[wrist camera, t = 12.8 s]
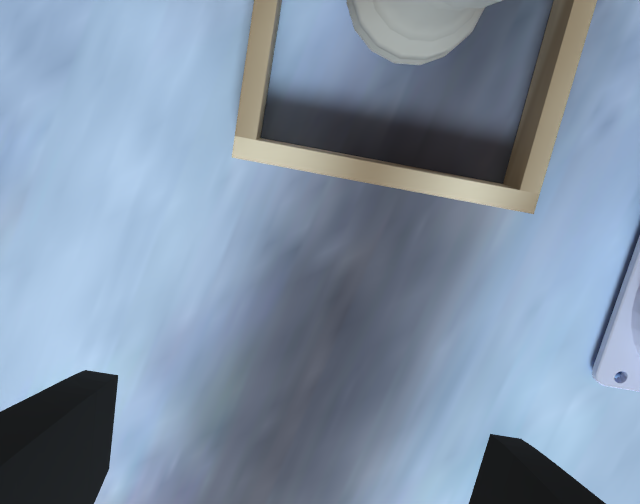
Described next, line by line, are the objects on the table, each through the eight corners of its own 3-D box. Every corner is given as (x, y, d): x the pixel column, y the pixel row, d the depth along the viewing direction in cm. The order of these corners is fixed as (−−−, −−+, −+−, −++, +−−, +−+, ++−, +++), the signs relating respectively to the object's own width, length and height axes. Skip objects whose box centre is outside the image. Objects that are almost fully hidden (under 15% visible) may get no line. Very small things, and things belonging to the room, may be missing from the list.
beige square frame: (606, -109, 17) (635, -131, 15) (515, 206, 19) (533, 214, 18) (287, -182, 16) (285, -214, 15) (238, 153, 19) (231, 157, 17)
